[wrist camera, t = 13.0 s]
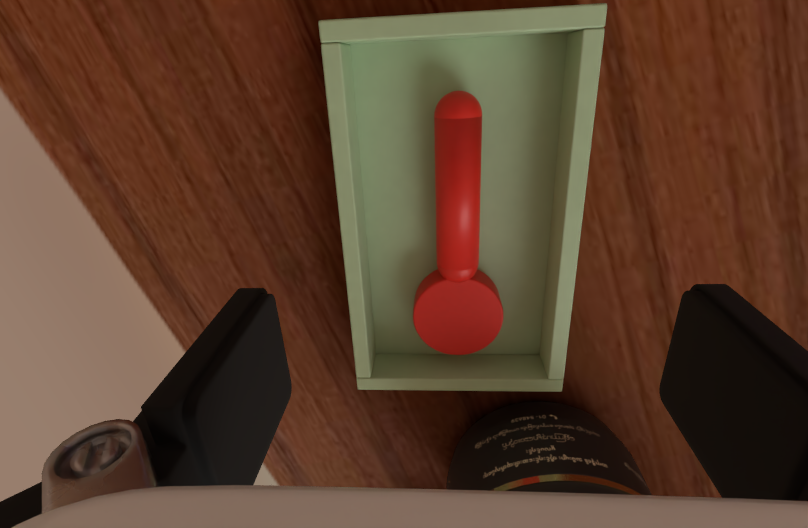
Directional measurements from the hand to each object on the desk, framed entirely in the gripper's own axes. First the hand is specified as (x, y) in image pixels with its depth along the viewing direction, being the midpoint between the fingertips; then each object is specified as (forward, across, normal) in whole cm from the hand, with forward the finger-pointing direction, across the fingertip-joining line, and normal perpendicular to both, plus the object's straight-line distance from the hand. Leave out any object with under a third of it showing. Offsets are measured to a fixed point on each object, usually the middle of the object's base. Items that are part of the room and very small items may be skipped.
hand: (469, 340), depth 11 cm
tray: (+10, 0, 0) cm, 10 cm away
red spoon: (+10, 0, +1) cm, 10 cm away
